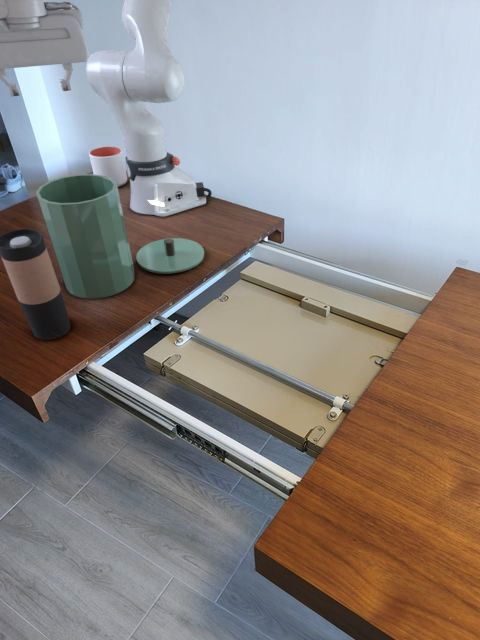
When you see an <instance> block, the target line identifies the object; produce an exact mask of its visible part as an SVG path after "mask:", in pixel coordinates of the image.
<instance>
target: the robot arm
mask: <svg viewBox="0 0 480 640" xmlns="http://www.w3.org/2000/svg"><path fill="white" fill-rule="evenodd" d="M172 4H173V0H123V4H122V5H123V6H122V11H121V21H122V25H123V28H124V29H125V31H126V32H127V34H128V35H129V36H130V37H132V38H133V39H134V40H135V46H134V49H133V50H125V49H113V48H109V49H103V50H99V51H95V52H93V53H91V54H90V53H89V49H88V45H87V41H86V38H85V35H84V33H83V29H84V20H83V15H82V12H81V10H80V8H79V7H78V6H76V5H74V4H72V3H71V2H70V1H61V2H58V1H57V2H55V1H47V2H46V1H44V0H0V80H1V81H2V83H4V84H5V86H6V87H7V89H8V92H9V95H10V97H19V96H20V93H19V90H18V86H17V84H16V83H11V82H9V80H8V79H7V78H6V76H7V72H6V69H16V68H17V69H19V68H29V67H30V68H31V67H41V66H54V65H62V68H63V69H64V70H65V73H64V78H61V79H59V82H60V84H61V86H60V87H61V90H62V91H63V92H68V91H72V86H71V82H70V80H71V78H72V73H73V70H74V69H73V65H72V64H76V63H86V65H85V66H86V67H85V74H86V79H87V82H88V84H89V86H90V87H91V89H92V91H93V92H94V93H96V94H97V95H98V96H99V97H100V98H101V99H102V100H103V101H104V102H105V104H107V106H108V107H109V109H110V111H111V112H112V113H113V115H114V117H115V119H116V121H117V124H118V125H119V129H120V132H121V137H122V140H123V144H124V149H125V155H126V156H125V168H126V174H127V177H128V178H129V184H130V198H129V199H130V201H129V208H130V209H131V210H132V211H133V212H135V213H138V214H142V215H151V216H153V215H154V216H156V217H162V218H165V217H168V216H172V215H175V214H179V213H182V212H185V211H187V210H190V209H194V208H196V207H200V206H203V205H206V203H207V198H208V199H210V198H211V197H212V194H213V193H212V190H211V189H210V188H207V187H205V186H204V182H203V181H201V182H196V181H195V179H194V177H192V176H191V175H190V174H189V173H187V172H186V171H185V170H183V169H182V168H179V167H177V166H179V165H180V164H181V160H180V158H178V157H177V156H175V155H173V154H172V153H170V152H168V151H167V143H166V135H165V129H164V125H163V124H162V122H161V120H159V118H157V117H156V116H155V115H153V113H151V112H150V110H148V108H147V107H146V105H145V103H151V104H152V103H153V104H165V103H170V102H176V101H177V100H178V99H179V98H180V96H181V95H182V93H183V91H184V86H185V75H184V70H183V68H182V65H181V64H180V62H179V61H178V59H177V58H176V57H175V56H174V55H173V53H172V51H171V49H170V46H169V41H168V32H169V31H168V29H169V23H170V15H171V10H172ZM205 192H206V193H207V195H206V193H205Z"/></svg>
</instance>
